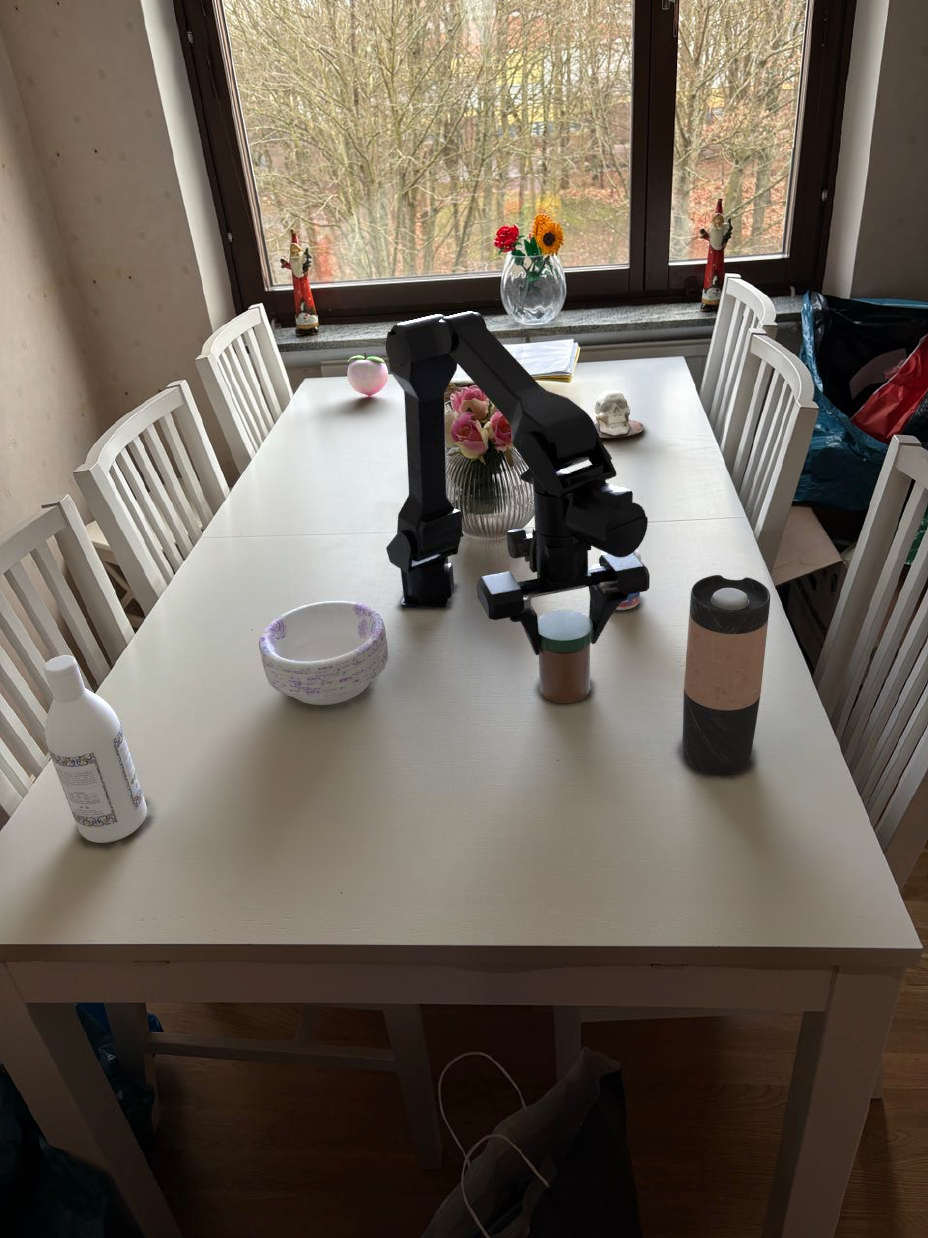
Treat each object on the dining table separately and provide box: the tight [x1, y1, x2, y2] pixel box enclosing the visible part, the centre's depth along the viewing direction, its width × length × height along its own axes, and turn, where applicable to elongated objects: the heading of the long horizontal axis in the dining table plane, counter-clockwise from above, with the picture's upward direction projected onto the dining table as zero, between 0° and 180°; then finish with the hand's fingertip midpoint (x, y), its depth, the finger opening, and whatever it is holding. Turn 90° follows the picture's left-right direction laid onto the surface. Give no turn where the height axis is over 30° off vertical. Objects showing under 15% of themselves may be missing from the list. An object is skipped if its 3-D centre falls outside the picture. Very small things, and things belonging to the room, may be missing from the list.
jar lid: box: [538, 609, 594, 653], centre depth 110 cm, size 7×7×2 cm
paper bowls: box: [258, 600, 389, 706], centre depth 117 cm, size 15×15×8 cm
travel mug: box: [682, 574, 771, 776], centre depth 97 cm, size 8×8×20 cm
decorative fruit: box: [346, 351, 389, 397], centre depth 213 cm, size 9×8×10 cm
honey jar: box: [538, 643, 591, 704], centre depth 112 cm, size 6×6×8 cm
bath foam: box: [43, 654, 148, 844], centre depth 95 cm, size 7×7×20 cm
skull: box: [593, 389, 645, 439], centre depth 186 cm, size 12×10×10 cm
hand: (564, 647), depth 112 cm, fingers closed on jar lid, 6 cm apart
